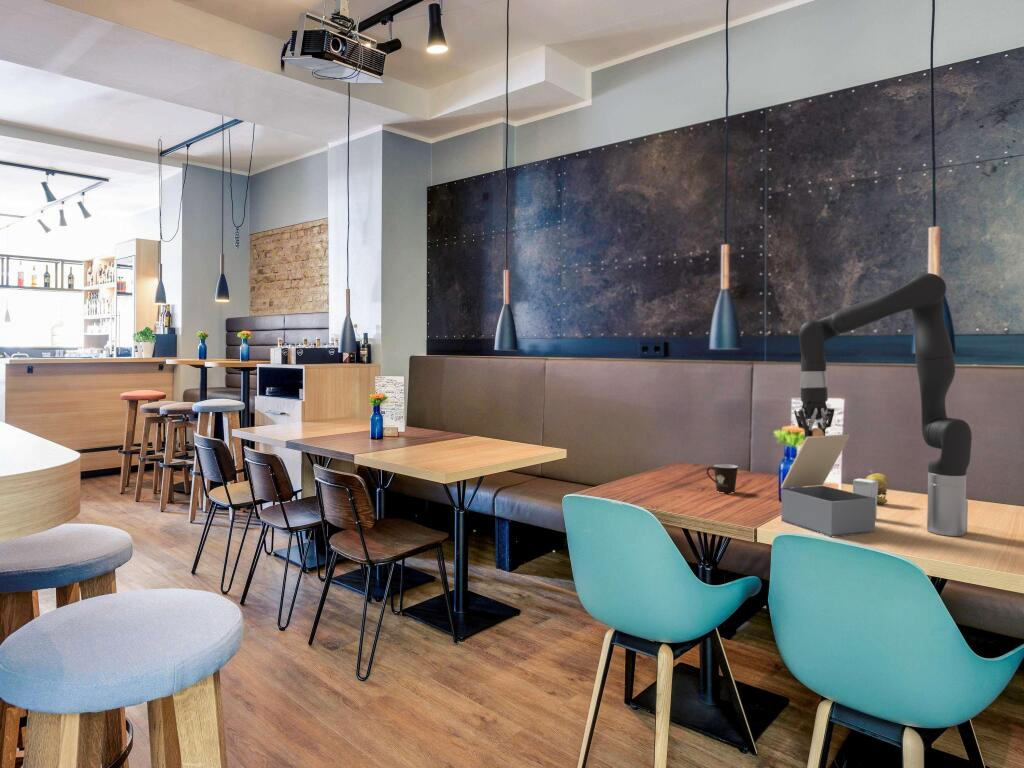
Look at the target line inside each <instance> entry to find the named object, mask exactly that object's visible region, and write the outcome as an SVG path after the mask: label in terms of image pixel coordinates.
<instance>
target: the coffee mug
mask: <svg viewBox="0 0 1024 768" xmlns="http://www.w3.org/2000/svg"><path fill="white" fill-rule="evenodd" d="M738 468H739V467H738V465H735V464H729V463H727V464H724V463H722V464H721V463H720V464H714V465H713V467H712V466H711V467H708V468H707V470H706V475H707V476H708V477H709V479H711V481H712V482H713V483H715V486H716V487H715V489H716V492H717V491H719V492H724V493H731V492H734V493H735V492H736V484H737V483H736V482H737V476H738ZM710 470H713V471H714V478H715V479H714V478H713V477H711V474H710V473H709V471H710Z"/></svg>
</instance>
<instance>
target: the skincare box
mask: <svg viewBox="0 0 1024 768" xmlns="http://www.w3.org/2000/svg"><path fill="white" fill-rule="evenodd" d="M852 481H853V482H852V483H853V484H852V493H856V494H860V495H864V496H869V497H873V498H875V520H876V519H877V508H878V504H877V496H878V495H877V493H878V481H873V480H867V479H865V478H856V479H853V480H852Z"/></svg>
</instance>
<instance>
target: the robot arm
mask: <svg viewBox="0 0 1024 768" xmlns="http://www.w3.org/2000/svg"><path fill="white" fill-rule="evenodd" d="M946 284H947V283H946V282H945V280H944V278H942V277H941V276H939V275H937V274H935V273H930V272H929V273H926V272H925V273H920V274H917V275H915V276H914V277H912V278H911V279H910V281H909V282H906V284H904V285H901V286H900V287H898V288H896V289H894V290H892V291H890V292H887V293H885V294H882V295H879V296H877V297H874V298H870V299H866V300H863V301H861V302H857V303H855V304H852V305H848V306H846V307H844V308H842V309H839V310H836V311H835V312H833V313H832V314H830V315H828V316H825V317H823V318H820V319H817V320H808V321H806V322H804V323H803V324H802V325H801V326H800V327H799V333H798V339H799V348H800V355H801V357H800V371H801V372H800V379H799V380H800V382H799V383H800V401H801V402H802V406H801V408H799V409H794V410H793V411H794V413H793V414H794V415H795V416H794V417H795V420H796V423H797V427H798V428H799V429H802V430H803V431H804V439H805V438H806V437H810V436H813V431H811V430H812V429H813V428H814V427H813V426H814V425H813V424H816V428H820V429H821V430H822V431H823V434H824V435H823V436H826V430H827V428H831V427H832V422H833V418H834V415H835V408H833V407H832V408H829V407H828V405H827V404H826V402H827V401H828V399H829V395H828V394H829V393H828V375H827V358H826V354H825V342H826V341H828V340H831V339H833V338H835V337H838V336H839V335H842V334H845V333H849V332H852V331H854V330H857V329H859V328H862V327H864V326H867V325H870V324H872V323H874V322H876V321H879V320H881V319H883V318H886V317H889V316H892V315H895V314H898V313H901V312H904V311H908V310H911V313H912V317H913V324H914V352H915V353H914V354H915V363H916V370H917V371H916V372H917V375H918V376H917V377H918V383H919V384H918V385H919V393H920V401H921V402H920V403H921V404H920V405H921V407H920V408H921V432H922V438H923V440H924V442H925V443H926V444H927V446H929V447H931V448H934V449H940V451H941V452H940V457H938V459H935V460H932V461H929V463H928V464H927V465H928V467H927V509H926V510H927V512H926V513H927V516H926V517H927V518H926V519H927V520H926V521H927V522H926V531H928V532H930V533H932V534H937V535H940V536H941V535H942V536H948V537H961V536H964V535H966V534H967V533H968V515H969V513H968V511H969V502H968V499H967V469H968V468H969V466H970V462H971V453H972V452H971V451H972V440H973V438H972V430H971V427H970V425H969V423H968V422H967V421H965V420H963V419H959V418H953V417H951V418H950V417H948V416H947V410H946V396H947V393H948V391H949V389H950V387H951V385H952V384H953V380H954V378H955V374H956V364H955V363H956V362H955V357H954V351H953V350H954V349H953V346H952V341H951V339H950V335H949V332H948V329H947V326H946V324H945V318H944V304H943V302H944V301H943V300H944V297H945V295H946V291H947V285H946Z"/></svg>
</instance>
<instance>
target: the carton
mask: <svg viewBox="0 0 1024 768" xmlns="http://www.w3.org/2000/svg"><path fill="white" fill-rule="evenodd" d="M780 514H781V519H780V520H781V522H783V521H784V523H787V524H790V525H792V526H796V527H799V528H802V529H805V530H808V531H811V532H814V533H817V532H818V533H817V534H820V533H822V534H821V535H823V534H824V535H823V536H826V535H827V536H826V537H829V538H833V537H832V536H838V537H844V536H843V535H847V536H851V535H850V534H856V535H863V534H862V533H864V534H871V532H873V533H876V519H875V498H873V497H869V496H864V495H860V494H856V493H853V491H852V492H851V491H847V490H843V489H839V488H834V487H831V486H826V485H817V486H805V487H793V488H781V513H780Z"/></svg>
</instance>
